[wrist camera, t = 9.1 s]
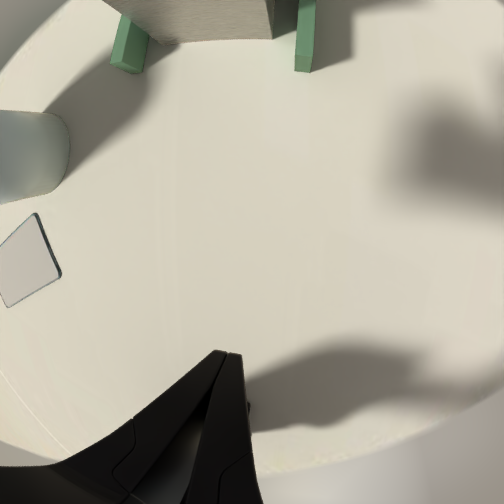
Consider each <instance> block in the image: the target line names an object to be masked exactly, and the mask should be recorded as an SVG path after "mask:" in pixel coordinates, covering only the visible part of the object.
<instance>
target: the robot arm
mask: <svg viewBox="0 0 504 504" xmlns="http://www.w3.org/2000/svg"><path fill="white" fill-rule="evenodd" d="M249 412H250V403H248V402H247V398H246V389H245V380H244V370H243V360H242V355H241V354H237V353H231V352H230V353H227V352H226V351H221V350H213V351H212V352H211V353H210V354H209V355H208V356H206V357H205V358H204V359H203V360H202V361H201V362H199V363H198V364H197V365H196V366H195V367H194V368H192V369H191V370H190V371H189V372H188V373H186V374H185V375H184V376H183V377H182V378H181V379H179V380H178V381H177V382H176V383H175V384H173V385H172V386H171V387H170V388H169V389H167V390H166V391H165V392H164V393H162V394H161V395H160V396H159V397H158V398H156V399H155V400H154V401H153V402H151V403H150V404H149V405H148V406H146V407H145V408H144V409H143V410H141V411H140V412H139V413H138V414H136V415H135V416H134V417H133V419H130V420H128V421H127V422H126V423H125V424H123V425H122V426H121V427H119V428H118V429H117V430H115V431H114V432H112V433H111V434H110V435H108V436H106V437H105V438H103V439H101V440H100V441H98V442H96V443H95V444H93V445H91V446H89V447H88V448H86V449H84V450H82V451H80V452H78V453H76V454H75V455H73V456H71V457H69V458H67V459H65V460H63V461H61V462H58V463H55V464H51V465H44V466H22V467H20V466H18V467H17V466H10V467H9V466H0V504H263V500H262V497H261V493H260V490H259V486H258V482H257V477H256V471H255V465H254V457H253V453H252V451H253V450H252V442H251V433H250V425H249Z"/></svg>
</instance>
